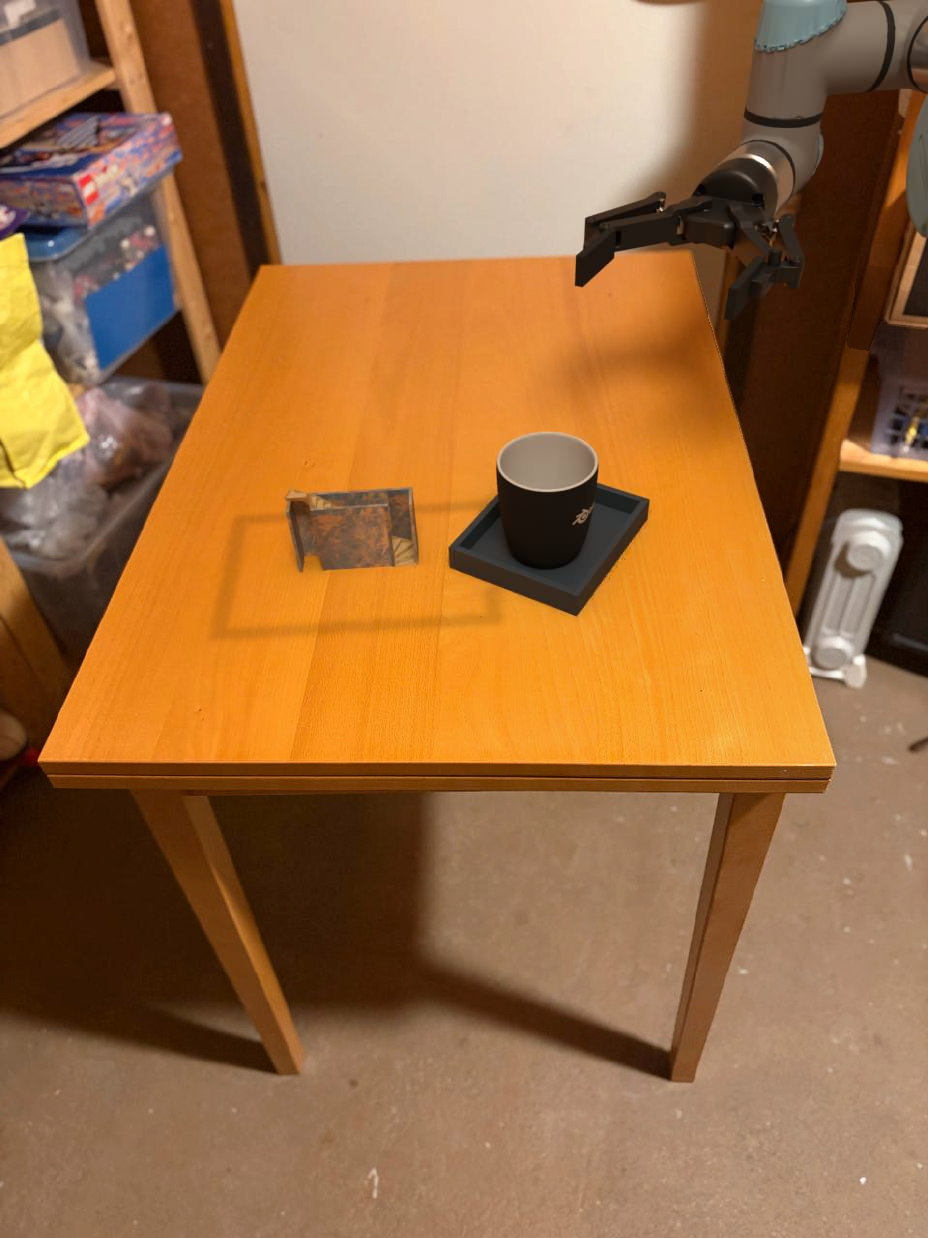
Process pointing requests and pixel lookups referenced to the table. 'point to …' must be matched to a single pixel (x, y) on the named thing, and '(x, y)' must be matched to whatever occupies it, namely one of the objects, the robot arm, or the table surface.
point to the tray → (563, 586)
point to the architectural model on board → (354, 528)
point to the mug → (546, 496)
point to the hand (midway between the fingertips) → (652, 287)
